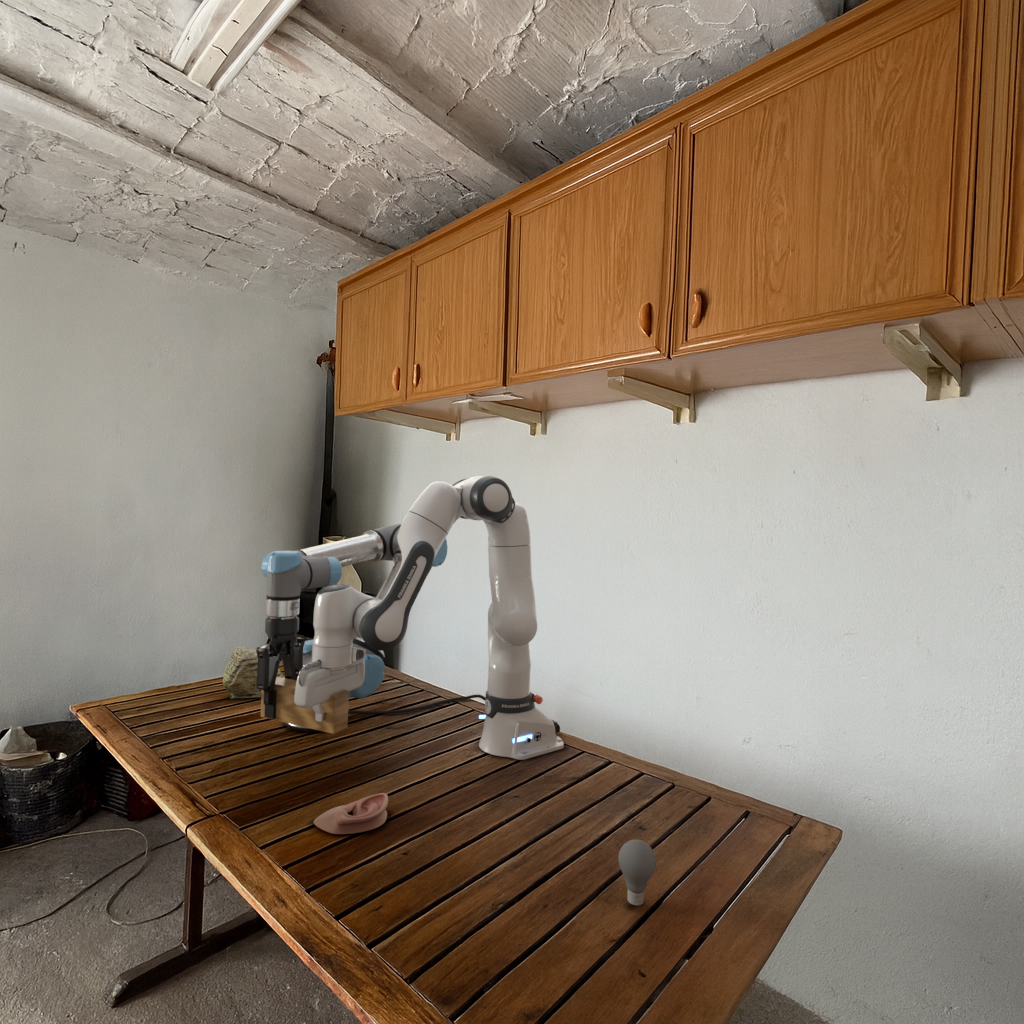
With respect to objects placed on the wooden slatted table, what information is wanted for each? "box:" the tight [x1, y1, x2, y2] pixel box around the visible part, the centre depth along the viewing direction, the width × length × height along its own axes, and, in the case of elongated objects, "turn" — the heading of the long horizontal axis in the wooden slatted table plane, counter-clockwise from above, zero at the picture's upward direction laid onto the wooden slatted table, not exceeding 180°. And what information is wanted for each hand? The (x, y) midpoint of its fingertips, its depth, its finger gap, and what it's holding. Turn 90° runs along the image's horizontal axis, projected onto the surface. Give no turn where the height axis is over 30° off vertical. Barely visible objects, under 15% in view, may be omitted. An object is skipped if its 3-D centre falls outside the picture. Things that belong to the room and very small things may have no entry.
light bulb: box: [618, 838, 657, 906], centre depth 102 cm, size 6×6×10 cm
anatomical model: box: [313, 792, 389, 835], centre depth 124 cm, size 13×4×12 cm
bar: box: [260, 677, 350, 735], centre depth 147 cm, size 22×5×8 cm, turn 66°
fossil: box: [222, 646, 285, 699], centre depth 198 cm, size 9×18×15 cm, turn 132°
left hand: (278, 713), depth 150 cm, fingers closed on bar, 5 cm apart
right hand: (329, 716), depth 144 cm, fingers closed on bar, 5 cm apart
